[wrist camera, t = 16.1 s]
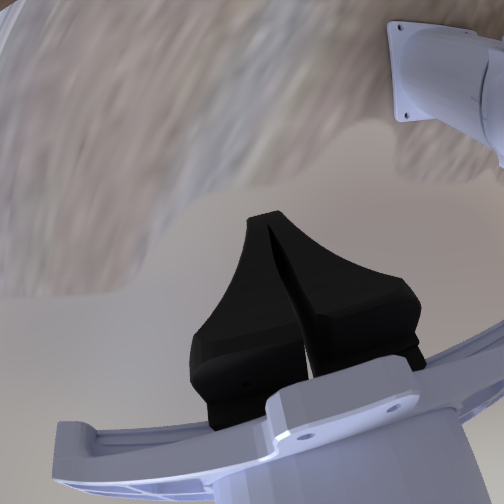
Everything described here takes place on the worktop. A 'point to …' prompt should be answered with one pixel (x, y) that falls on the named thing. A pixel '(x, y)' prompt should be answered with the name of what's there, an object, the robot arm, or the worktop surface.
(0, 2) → the walnut domino
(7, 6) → the walnut domino
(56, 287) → the worktop surface
